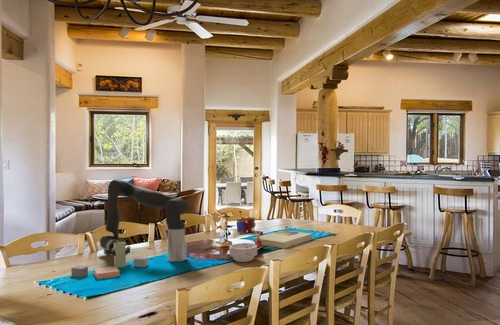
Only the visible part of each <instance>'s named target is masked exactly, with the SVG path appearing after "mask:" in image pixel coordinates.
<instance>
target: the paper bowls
mask: <svg viewBox="0 0 500 325" xmlns="http://www.w3.org/2000/svg"><path fill="white" fill-rule="evenodd" d="M228 248H229V252H228V253H229V256H230V257H232V259H233V260H234V261H236V262H237V263H238V262H239V263H247V262H252V261H253V260H254V258H255V256H257V255H258V250H257V245H255V244H253V243H249V242H240V243H233V244H230V245H229V247H228Z"/></svg>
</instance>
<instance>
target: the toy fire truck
mask: <svg viewBox="0 0 500 325" xmlns="http://www.w3.org/2000/svg"><path fill="white" fill-rule="evenodd" d="M256 235H257V236H256V237H257V240H258V241H257V242H255V245H257V248H260V247H261V245H262V241H260V236H263V235H264V231H257V232H256ZM262 246H263V245H262Z"/></svg>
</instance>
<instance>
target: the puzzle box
mask: <svg viewBox="0 0 500 325" xmlns="http://www.w3.org/2000/svg"><path fill="white" fill-rule="evenodd" d="M312 240H313V233H309V232H308V233H306V232H300V231H291V230H290V231H289V230H279V231H275V232H272V233H267V234H263V236H260V241H262V244H263V245H262V246H264V247H270V248H271V247H272V248H278V249H286V248H290V247H292V246H296V245H300V244H302V243H305V242H309V241H312ZM252 241H253V242H257V241H258V240H257V236H256V237H252ZM253 242H252V243H253Z"/></svg>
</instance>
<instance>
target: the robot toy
mask: <svg viewBox="0 0 500 325" xmlns="http://www.w3.org/2000/svg"><path fill="white" fill-rule="evenodd" d="M238 212H239V214H240V216H241V215H242V210H239V211H238ZM256 226H257V225H256V217H251V216H247V217H242V216H241V217H240V218H237V220H236V232H237V233H243V232H245V233H246V234H248V233H252V232H253V231H252V230H253V229H254V228H255V227H256Z"/></svg>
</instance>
